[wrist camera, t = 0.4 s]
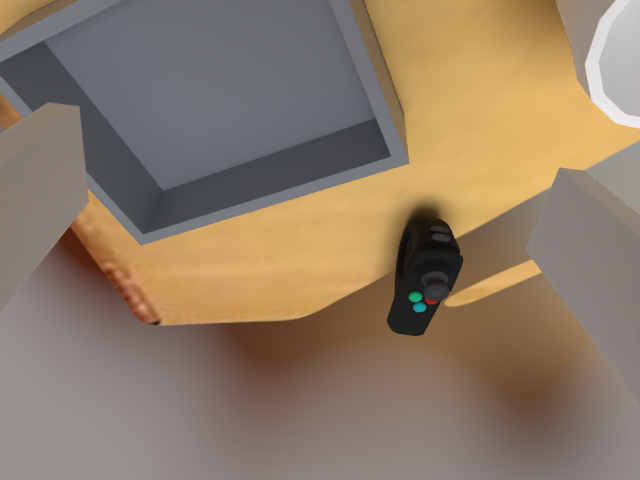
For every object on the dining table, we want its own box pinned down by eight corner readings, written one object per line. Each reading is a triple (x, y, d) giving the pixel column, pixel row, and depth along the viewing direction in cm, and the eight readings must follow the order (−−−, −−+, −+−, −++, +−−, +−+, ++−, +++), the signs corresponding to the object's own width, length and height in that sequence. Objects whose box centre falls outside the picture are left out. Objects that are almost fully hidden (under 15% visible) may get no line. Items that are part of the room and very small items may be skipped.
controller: (457, 195, 46) (474, 275, 39) (420, 282, 55) (428, 361, 48) (411, 188, 46) (420, 267, 39) (381, 276, 55) (383, 354, 47)
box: (313, -139, 30) (303, -119, 25) (403, 113, 41) (409, 163, 36) (22, 18, 38) (-32, 58, 32) (164, 194, 49) (140, 245, 44)
